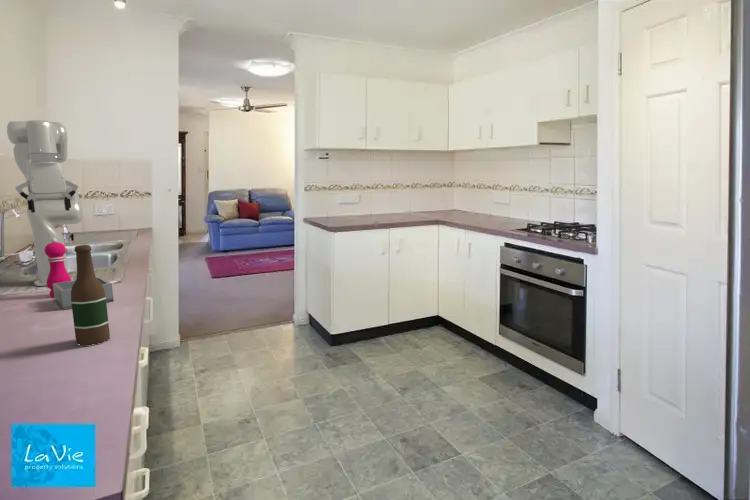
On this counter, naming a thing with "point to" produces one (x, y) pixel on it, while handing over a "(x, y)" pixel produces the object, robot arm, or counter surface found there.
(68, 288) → the bin
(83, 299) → the beer bottle
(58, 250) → the pepper mill
